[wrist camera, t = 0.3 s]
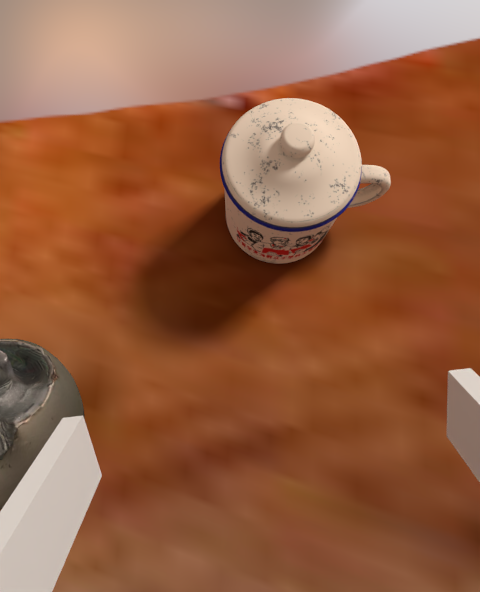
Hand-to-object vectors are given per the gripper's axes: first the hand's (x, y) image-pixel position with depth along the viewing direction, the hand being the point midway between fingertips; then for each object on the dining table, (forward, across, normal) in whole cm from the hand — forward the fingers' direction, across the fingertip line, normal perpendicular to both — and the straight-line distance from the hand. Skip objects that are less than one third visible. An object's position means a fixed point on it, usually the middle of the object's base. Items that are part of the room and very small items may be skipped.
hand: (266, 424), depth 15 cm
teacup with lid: (+23, -4, -4) cm, 23 cm away
